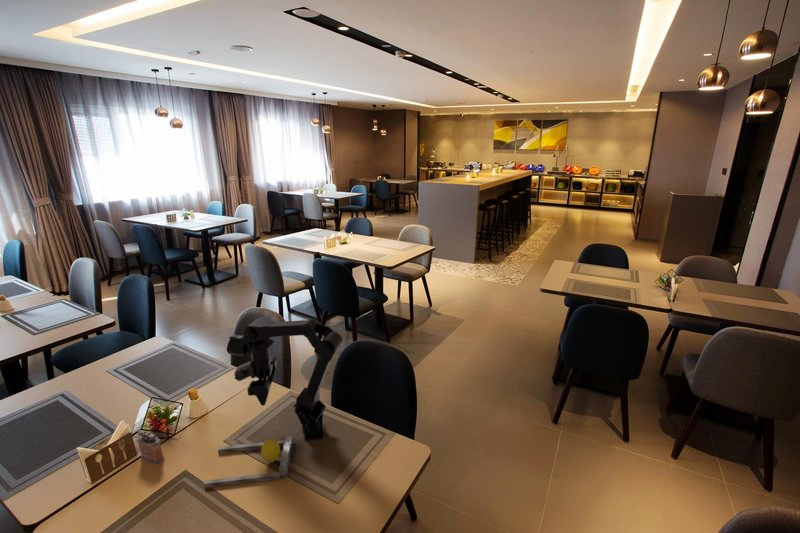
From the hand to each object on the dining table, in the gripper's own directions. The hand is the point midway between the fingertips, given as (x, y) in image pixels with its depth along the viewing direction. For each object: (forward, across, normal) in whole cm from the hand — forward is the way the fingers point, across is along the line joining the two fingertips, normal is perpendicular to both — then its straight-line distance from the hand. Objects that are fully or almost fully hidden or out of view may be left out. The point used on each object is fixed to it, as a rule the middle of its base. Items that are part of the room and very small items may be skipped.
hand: (265, 396), depth 133 cm
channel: (+12, +17, -2) cm, 21 cm away
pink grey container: (+12, +10, -34) cm, 37 cm away
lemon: (+12, +17, +4) cm, 21 cm away
